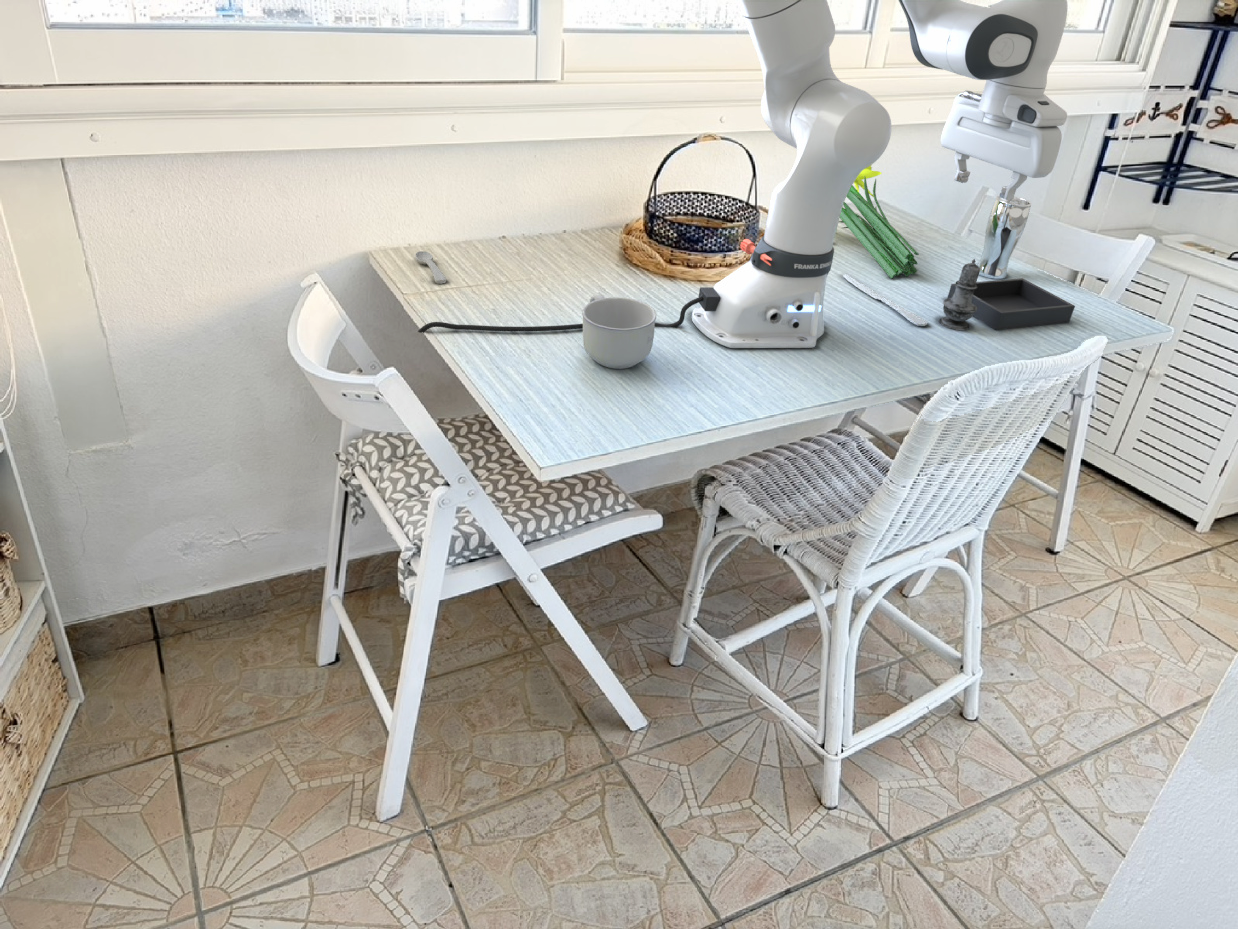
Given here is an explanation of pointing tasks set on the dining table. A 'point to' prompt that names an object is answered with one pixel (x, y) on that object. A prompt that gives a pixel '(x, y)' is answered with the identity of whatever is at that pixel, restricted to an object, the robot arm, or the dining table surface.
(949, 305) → the salt shaker
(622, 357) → the teacup
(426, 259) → the spoon
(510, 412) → the dining table surface
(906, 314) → the butter knife
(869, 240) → the daffodil flowers
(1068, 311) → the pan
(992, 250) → the beer glass
